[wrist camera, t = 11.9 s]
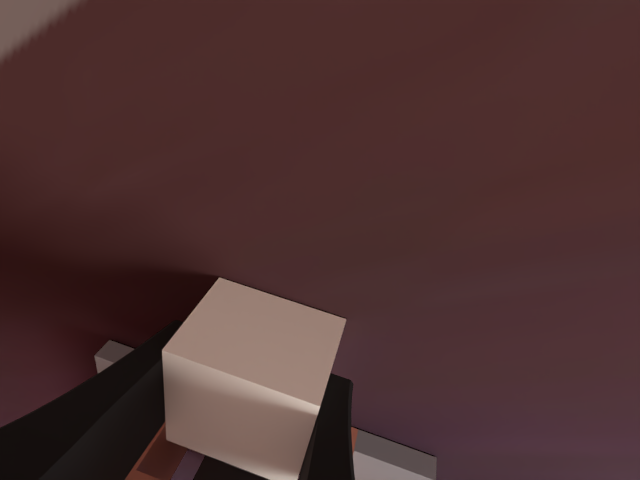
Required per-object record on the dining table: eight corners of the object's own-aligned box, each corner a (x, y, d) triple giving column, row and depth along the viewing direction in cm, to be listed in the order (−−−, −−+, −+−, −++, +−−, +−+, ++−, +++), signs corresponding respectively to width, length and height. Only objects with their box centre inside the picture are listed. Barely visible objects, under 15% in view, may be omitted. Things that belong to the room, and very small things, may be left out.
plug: (295, 484, 17) (270, 566, 15) (208, 451, 18) (170, 525, 15) (346, 319, 12) (320, 406, 9) (219, 277, 12) (161, 350, 10)
